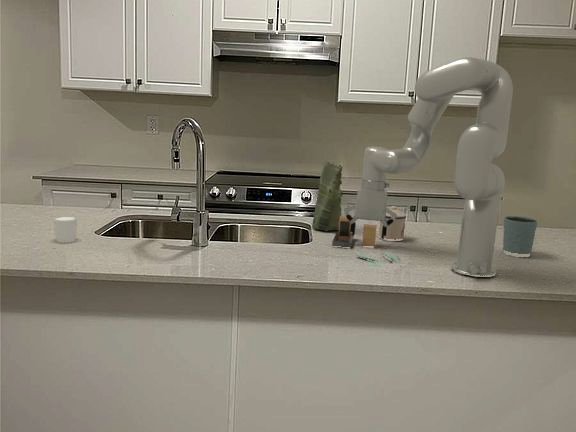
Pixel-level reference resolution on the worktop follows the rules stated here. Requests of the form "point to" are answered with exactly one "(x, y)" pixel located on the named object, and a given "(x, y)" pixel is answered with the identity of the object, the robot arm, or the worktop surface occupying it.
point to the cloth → (391, 256)
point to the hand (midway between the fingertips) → (367, 236)
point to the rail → (343, 233)
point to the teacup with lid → (394, 225)
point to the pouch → (328, 199)
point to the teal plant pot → (519, 234)
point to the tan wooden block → (369, 235)
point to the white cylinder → (65, 229)
